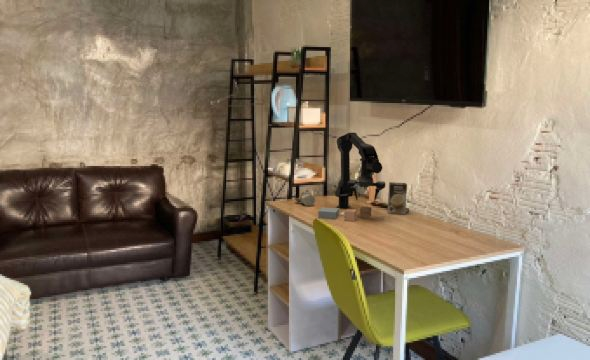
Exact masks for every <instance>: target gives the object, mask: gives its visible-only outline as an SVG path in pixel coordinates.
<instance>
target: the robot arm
mask: <svg viewBox="0 0 590 360" xmlns="http://www.w3.org/2000/svg"><path fill="white" fill-rule="evenodd" d="M336 144H337V149H338V151H339V152H340V180H339V181H338V183H337V188H336V189H335V192H334V196H335V197H337V198H338V205H337V206H336V208H338V209H350V207H351V205H350V203H349V202H350V197H353V195H354V196H355V199H356V201H358V199H359V192H358V191H359V190H358V186H359V188H362V187H363V188H369V187H376V188H375V189H374V199H373V200H374V202H376V200H377V198H378V195H379V192H380V191H382V190H383V189H385V188H386V181H381V180H379V181H376V182H374V177H373V173H374V174H379V173H381V172H382V170H383V165H382V163H381V162H380V159H379V155H378V154H377V150H376V148H375V146H373V145H372V144H370V143H366V142H365V141H364V140H363V139H362V138H361V137H360V136H359V135H358V134H357V132H347V133H345V134H344V135H341V136H339V137H338V138H337V139H336ZM353 146H354V147H355V148H356V149H357V150H358V155H359V156H360V157H361V158H360V159H359V161H360V162H361V165H360V168H361V169H360V171H361V172H360V178H359V180H357V179H351V174H350V172H351V171H350V170H351V169H350V168H351V167H350V164H351V163H350V152H351V151H352V149H353Z"/></svg>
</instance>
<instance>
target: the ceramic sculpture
mask: <svg viewBox="0 0 590 360" xmlns="http://www.w3.org/2000/svg"><path fill="white" fill-rule="evenodd" d="M294 199H295V201H296V202H297V203H301V204H303V205H304V206H305V207H311V206H314V204H315V203H316V198H315V196H314V195H313V194H312V193H311V192H310V191H309V190H308V189H306V190H305V191H302V193H300V196H299V197H295V198H294Z"/></svg>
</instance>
